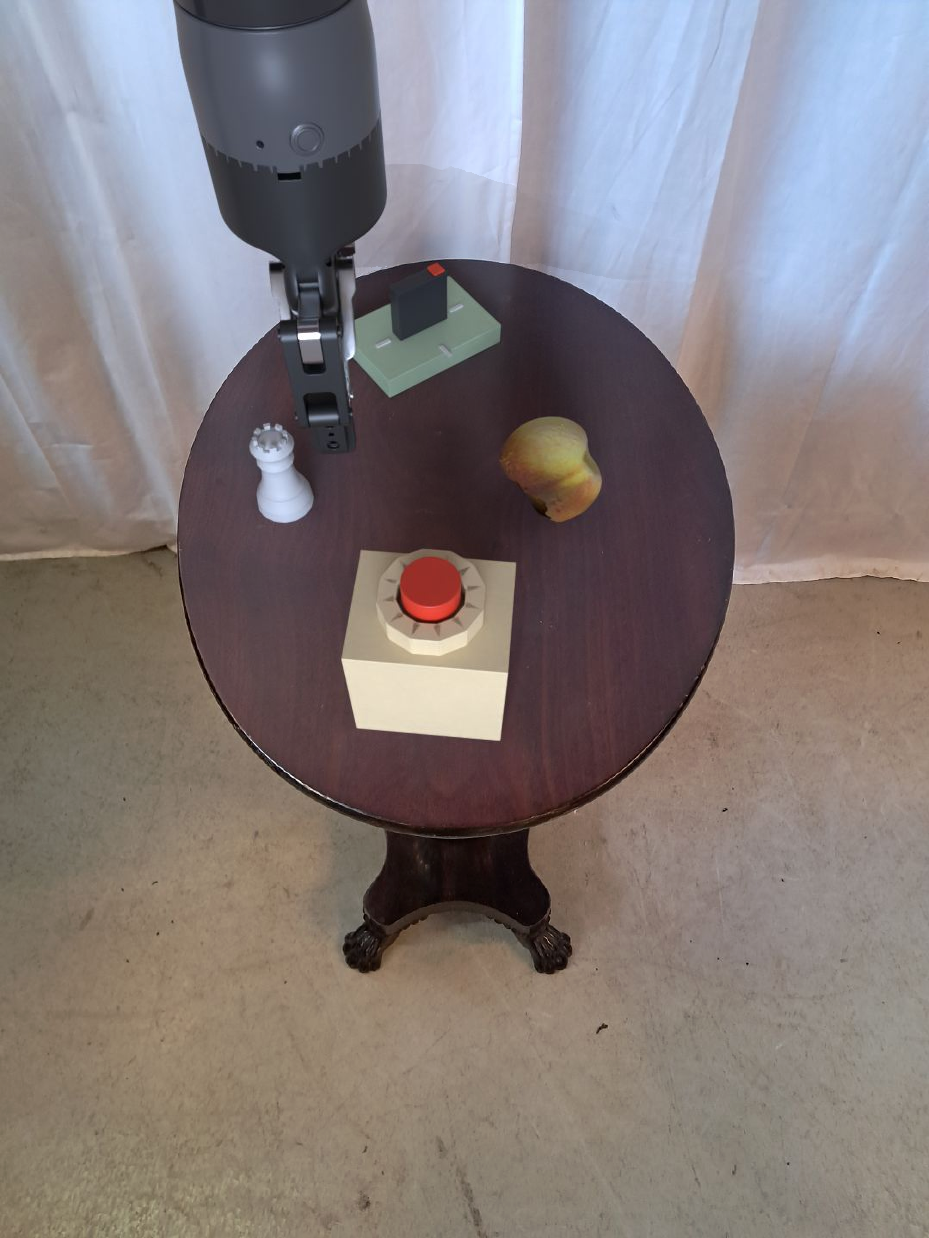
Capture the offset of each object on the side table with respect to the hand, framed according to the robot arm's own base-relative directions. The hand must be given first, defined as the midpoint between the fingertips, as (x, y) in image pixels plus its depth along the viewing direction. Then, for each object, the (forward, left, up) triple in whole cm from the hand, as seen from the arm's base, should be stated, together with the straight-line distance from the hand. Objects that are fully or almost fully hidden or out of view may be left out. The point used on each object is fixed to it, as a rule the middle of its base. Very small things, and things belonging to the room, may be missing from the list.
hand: (335, 390), depth 51 cm
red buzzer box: (+6, -7, -21) cm, 23 cm away
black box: (+1, +27, -19) cm, 33 cm away
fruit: (+13, +10, -21) cm, 27 cm away
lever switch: (+1, +27, -21) cm, 34 cm away
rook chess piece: (-8, +7, -21) cm, 23 cm away
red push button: (+6, -7, -9) cm, 13 cm away
